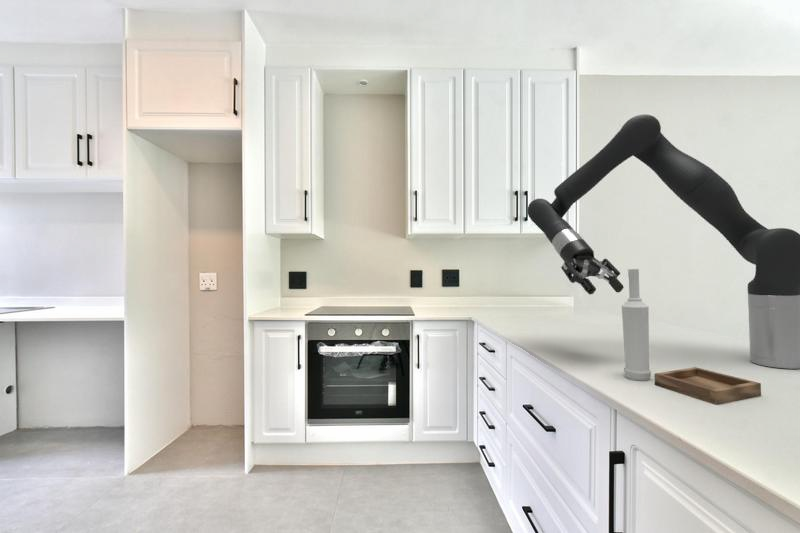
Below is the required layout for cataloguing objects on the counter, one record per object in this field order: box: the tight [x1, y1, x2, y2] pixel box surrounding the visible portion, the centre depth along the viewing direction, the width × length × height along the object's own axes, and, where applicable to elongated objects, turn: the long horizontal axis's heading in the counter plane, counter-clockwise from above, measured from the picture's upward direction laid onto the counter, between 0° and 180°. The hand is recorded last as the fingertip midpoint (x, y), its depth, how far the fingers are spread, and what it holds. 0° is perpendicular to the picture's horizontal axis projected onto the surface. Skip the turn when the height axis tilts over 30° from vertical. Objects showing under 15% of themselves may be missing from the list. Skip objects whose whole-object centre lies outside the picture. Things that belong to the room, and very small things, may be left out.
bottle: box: [621, 268, 652, 382], centre depth 83 cm, size 5×5×25 cm
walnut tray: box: [654, 366, 762, 405], centre depth 74 cm, size 12×12×2 cm
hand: (607, 291), depth 91 cm, fingers open, 8 cm apart
